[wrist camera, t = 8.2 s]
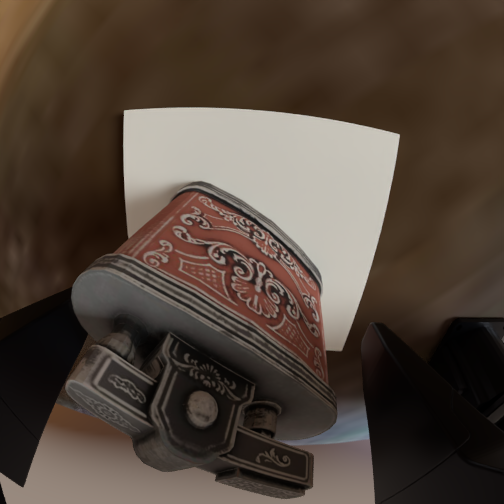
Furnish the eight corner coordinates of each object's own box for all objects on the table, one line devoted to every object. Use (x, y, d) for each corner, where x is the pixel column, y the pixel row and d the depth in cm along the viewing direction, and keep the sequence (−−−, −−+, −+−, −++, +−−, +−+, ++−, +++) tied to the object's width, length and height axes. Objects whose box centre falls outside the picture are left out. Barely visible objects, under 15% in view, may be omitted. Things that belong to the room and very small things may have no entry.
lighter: (159, 220, 13) (11, 384, 4) (199, 162, 12) (4, 310, 3) (289, 316, 15) (276, 513, 6) (337, 274, 13) (372, 492, 4)
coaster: (391, 133, 11) (399, 134, 10) (339, 339, 16) (341, 351, 16) (134, 110, 12) (124, 110, 11) (147, 314, 17) (141, 324, 16)
